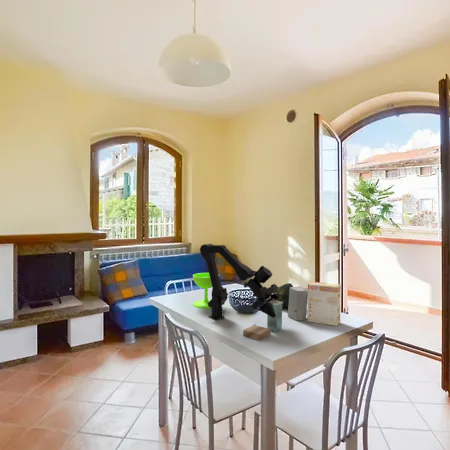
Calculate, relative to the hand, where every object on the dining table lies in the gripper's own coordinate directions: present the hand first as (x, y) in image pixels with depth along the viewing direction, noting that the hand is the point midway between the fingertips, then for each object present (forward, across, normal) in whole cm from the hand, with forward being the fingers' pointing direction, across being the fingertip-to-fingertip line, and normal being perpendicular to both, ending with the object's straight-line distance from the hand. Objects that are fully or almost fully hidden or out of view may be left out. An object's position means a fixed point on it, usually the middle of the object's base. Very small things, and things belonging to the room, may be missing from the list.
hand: (277, 315), depth 156 cm
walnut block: (+2, -12, +8) cm, 14 cm away
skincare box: (+4, +23, +5) cm, 24 cm away
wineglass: (-34, +11, +44) cm, 57 cm away
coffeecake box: (+14, +25, -4) cm, 29 cm away
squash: (-7, +38, +16) cm, 42 cm away
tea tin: (+4, 0, +6) cm, 7 cm away
